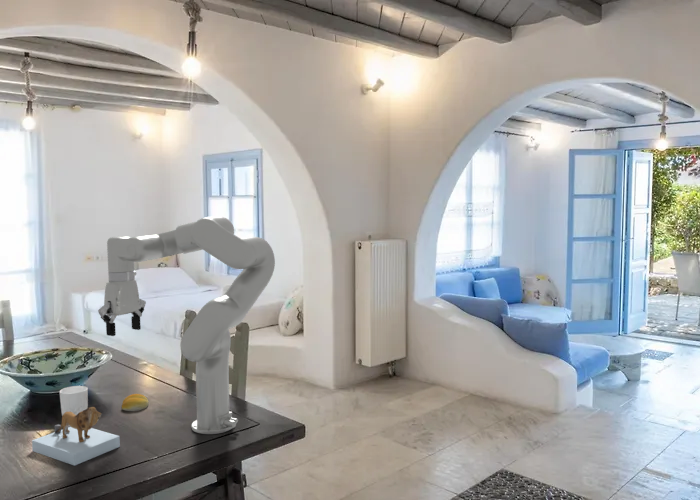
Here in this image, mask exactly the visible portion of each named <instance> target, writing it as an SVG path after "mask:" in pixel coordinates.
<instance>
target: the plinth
mask: <svg viewBox="0 0 700 500" xmlns="http://www.w3.org/2000/svg"><path fill="white" fill-rule="evenodd" d="M60 427H61V424H55V425H54V432H51V433H49V434H48V433H47V434H46V435H43V436H40V437H37V438H34V439H31V444H32V445H31V449H32V452H34V453H37V454H40V455H42V456H45V457H49V458H52V459H53V460H54V459H55V460H57V461H59V462H63V463H66V464H69V465H71V466H77V465H79V464H81V463H84V462H87V461H88V460H91V459H94V458H96V457H99V456H101V455H103V454H105V453H108V452H110V451H113V450H116V449H117V448H120V447H121V444H120V443H121V442H120V441H121V440H120V435H118V434H113V433H110V432H108V431H107V432H106V431H103V430H100V429H96V428H94V427H92V428H91V429H90V430H88V433H87V435H89V436H90V438H85V437H84V430H83V431H82V437H83V440H84V441H83V442H79V436H78V430H77V429H74V428H72V427H71V426H69V427H68V430H69V431H70V432H69V433H66V435H67V438H63V432H62V431H63V429H61V430H60V431H59V432H58V433H56V432H55V431H57V430H58V429H59V428H60Z"/></svg>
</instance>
